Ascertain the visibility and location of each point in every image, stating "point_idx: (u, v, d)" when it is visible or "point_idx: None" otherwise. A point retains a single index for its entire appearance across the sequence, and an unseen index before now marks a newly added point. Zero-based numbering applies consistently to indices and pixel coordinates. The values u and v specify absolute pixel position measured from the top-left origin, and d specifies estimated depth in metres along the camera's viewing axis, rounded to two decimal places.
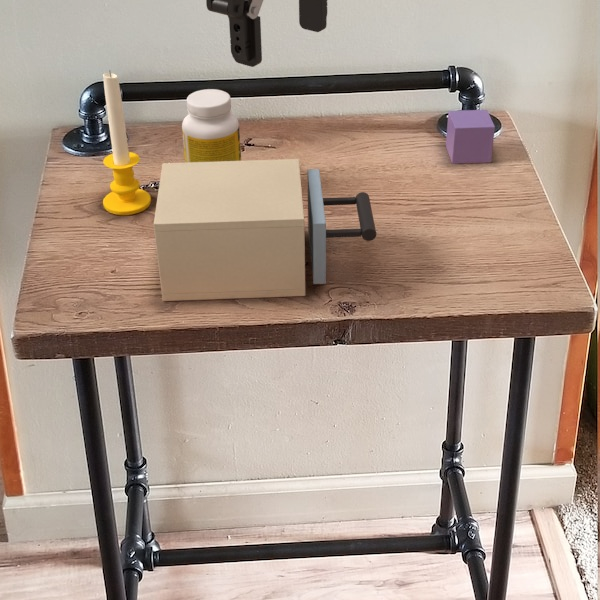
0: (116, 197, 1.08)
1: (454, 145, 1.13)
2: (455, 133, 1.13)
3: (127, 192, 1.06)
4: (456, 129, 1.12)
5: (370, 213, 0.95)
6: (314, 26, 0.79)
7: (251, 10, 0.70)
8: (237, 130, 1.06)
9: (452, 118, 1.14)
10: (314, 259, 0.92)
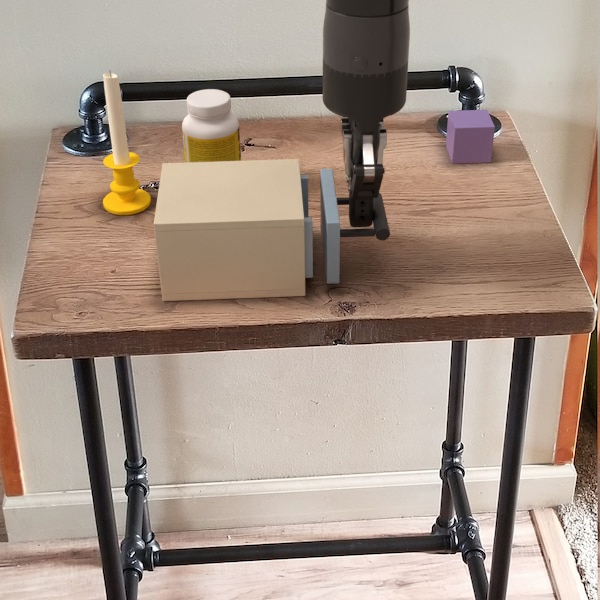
0: (116, 197, 1.08)
1: (454, 145, 1.13)
2: (455, 133, 1.13)
3: (127, 192, 1.06)
4: (456, 129, 1.12)
5: (383, 213, 0.95)
6: None
7: None
8: (237, 130, 1.06)
9: (452, 118, 1.14)
10: (328, 259, 0.92)
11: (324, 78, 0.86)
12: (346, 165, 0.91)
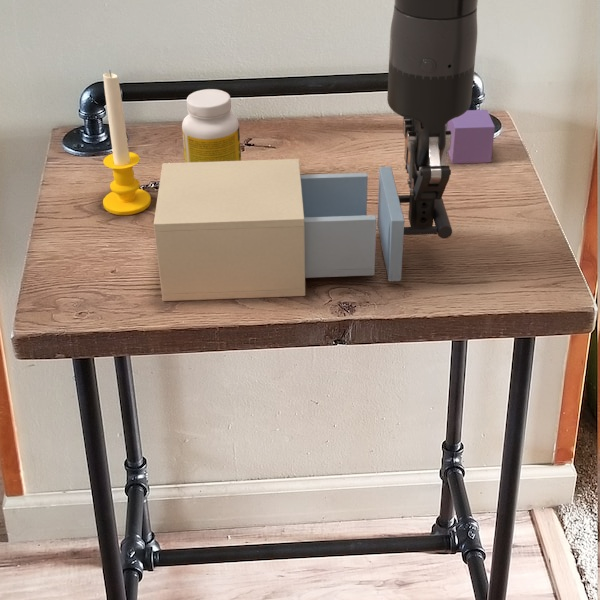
0: (116, 197, 1.08)
1: (454, 145, 1.13)
2: (455, 133, 1.13)
3: (127, 192, 1.06)
4: (456, 129, 1.12)
5: (444, 210, 0.95)
6: None
7: None
8: (237, 130, 1.06)
9: None
10: (391, 256, 0.92)
11: (390, 80, 0.87)
12: (409, 167, 0.91)
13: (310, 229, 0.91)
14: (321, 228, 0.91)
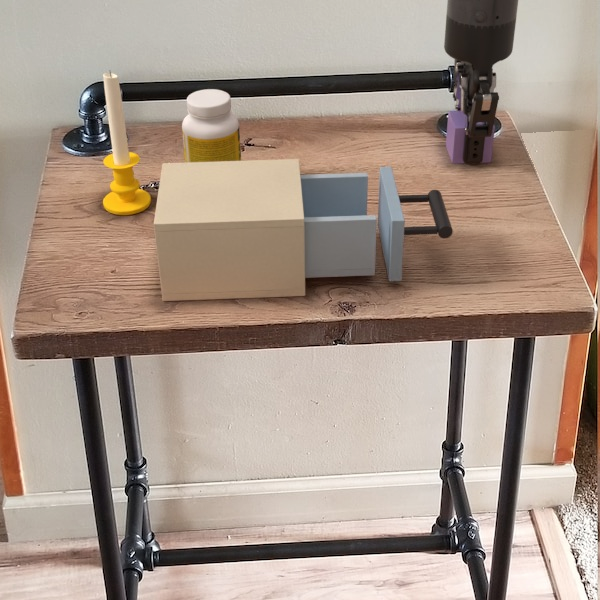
0: (116, 197, 1.08)
1: (454, 145, 1.13)
2: (455, 133, 1.13)
3: (127, 192, 1.06)
4: (456, 129, 1.12)
5: (445, 210, 0.95)
6: None
7: None
8: (237, 130, 1.06)
9: (452, 118, 1.14)
10: (391, 256, 0.92)
11: (448, 30, 1.07)
12: (463, 104, 1.10)
13: (310, 229, 0.91)
14: (322, 228, 0.91)
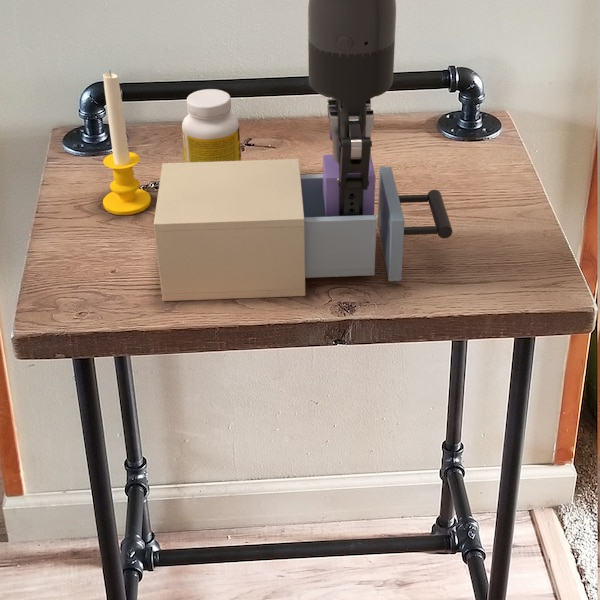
0: (116, 197, 1.08)
1: (326, 198, 0.92)
2: (326, 184, 0.91)
3: (127, 192, 1.06)
4: (327, 179, 0.91)
5: (444, 210, 0.95)
6: None
7: None
8: (237, 130, 1.06)
9: (325, 165, 0.93)
10: (391, 256, 0.92)
11: (310, 58, 0.85)
12: (334, 149, 0.89)
13: (310, 229, 0.91)
14: (321, 228, 0.91)
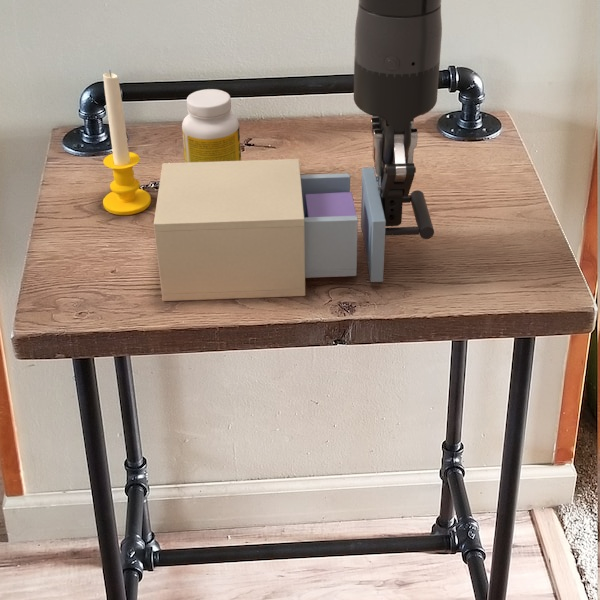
0: (116, 197, 1.08)
1: None
2: None
3: (127, 192, 1.06)
4: None
5: (427, 211, 0.95)
6: None
7: None
8: (237, 130, 1.06)
9: (307, 204, 0.95)
10: (372, 257, 0.92)
11: (356, 78, 0.87)
12: (376, 164, 0.91)
13: None
14: None
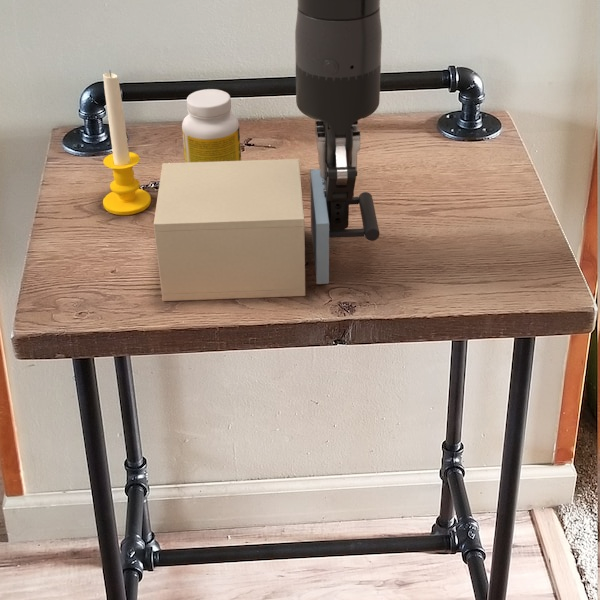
0: (116, 197, 1.08)
1: None
2: None
3: (127, 192, 1.06)
4: None
5: (373, 213, 0.95)
6: None
7: None
8: (237, 130, 1.06)
9: None
10: (317, 259, 0.92)
11: (297, 81, 0.87)
12: (320, 168, 0.91)
13: None
14: None
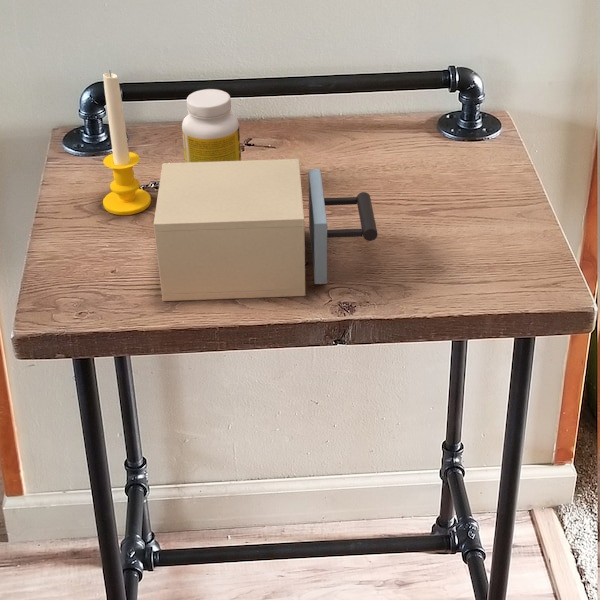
0: (116, 197, 1.08)
1: None
2: None
3: (127, 192, 1.06)
4: None
5: (371, 213, 0.95)
6: None
7: None
8: (237, 130, 1.06)
9: None
10: (315, 259, 0.92)
11: None
12: None
13: None
14: None
